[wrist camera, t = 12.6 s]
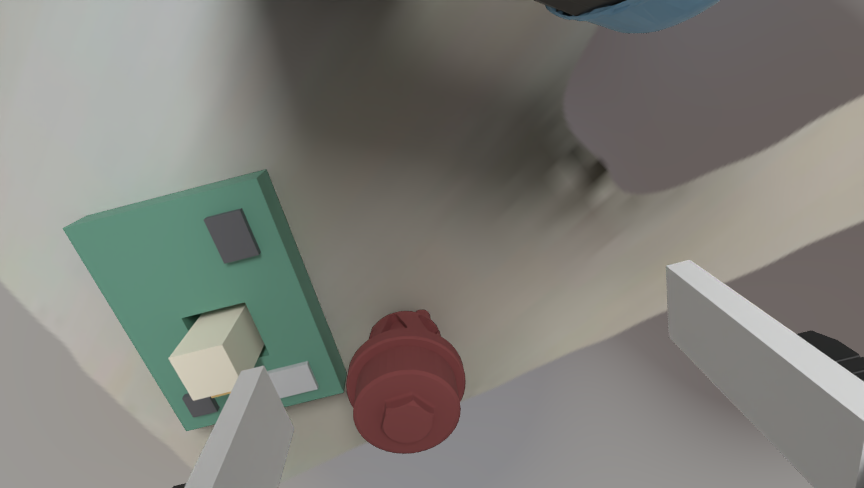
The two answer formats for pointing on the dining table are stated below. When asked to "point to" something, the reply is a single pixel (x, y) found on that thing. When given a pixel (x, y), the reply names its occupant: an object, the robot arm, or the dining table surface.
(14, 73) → the dining table surface
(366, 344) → the mechanical component
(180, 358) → the plug
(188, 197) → the board
